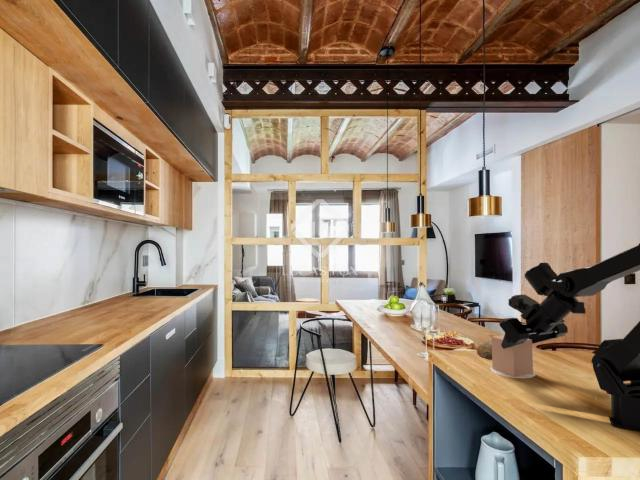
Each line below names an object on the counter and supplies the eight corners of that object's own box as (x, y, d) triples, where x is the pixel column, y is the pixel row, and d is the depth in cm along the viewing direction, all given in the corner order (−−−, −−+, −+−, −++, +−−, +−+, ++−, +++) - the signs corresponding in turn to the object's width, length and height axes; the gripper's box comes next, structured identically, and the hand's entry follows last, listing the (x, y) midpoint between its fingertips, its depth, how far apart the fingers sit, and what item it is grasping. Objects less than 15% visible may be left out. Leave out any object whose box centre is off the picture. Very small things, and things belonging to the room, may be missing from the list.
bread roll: (477, 371, 111) (475, 350, 108) (478, 349, 120) (477, 330, 117) (512, 375, 107) (512, 354, 104) (511, 353, 115) (511, 333, 112)
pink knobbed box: (533, 373, 95) (531, 336, 96) (514, 376, 93) (513, 339, 93) (510, 365, 102) (509, 331, 102) (492, 368, 99) (491, 333, 100)
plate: (535, 384, 90) (534, 381, 90) (487, 377, 96) (487, 373, 96) (536, 372, 99) (536, 368, 99) (493, 365, 105) (493, 362, 105)
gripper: (554, 283, 96) (519, 318, 105) (503, 287, 89) (471, 323, 99) (586, 317, 88) (546, 351, 98) (534, 324, 81) (496, 359, 91)
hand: (514, 345), depth 96 cm, fingers open, 9 cm apart
